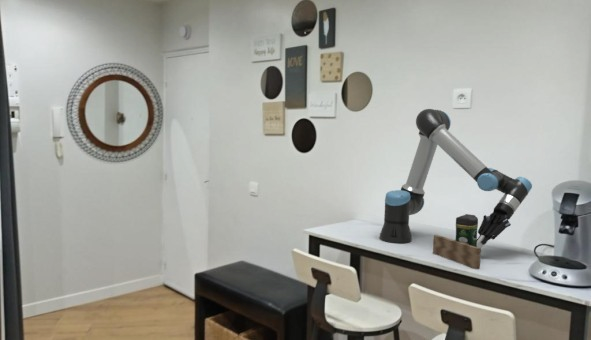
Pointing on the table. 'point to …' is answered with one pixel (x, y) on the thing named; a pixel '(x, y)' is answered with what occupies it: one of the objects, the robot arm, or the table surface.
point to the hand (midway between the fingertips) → (475, 248)
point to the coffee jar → (467, 229)
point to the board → (457, 251)
